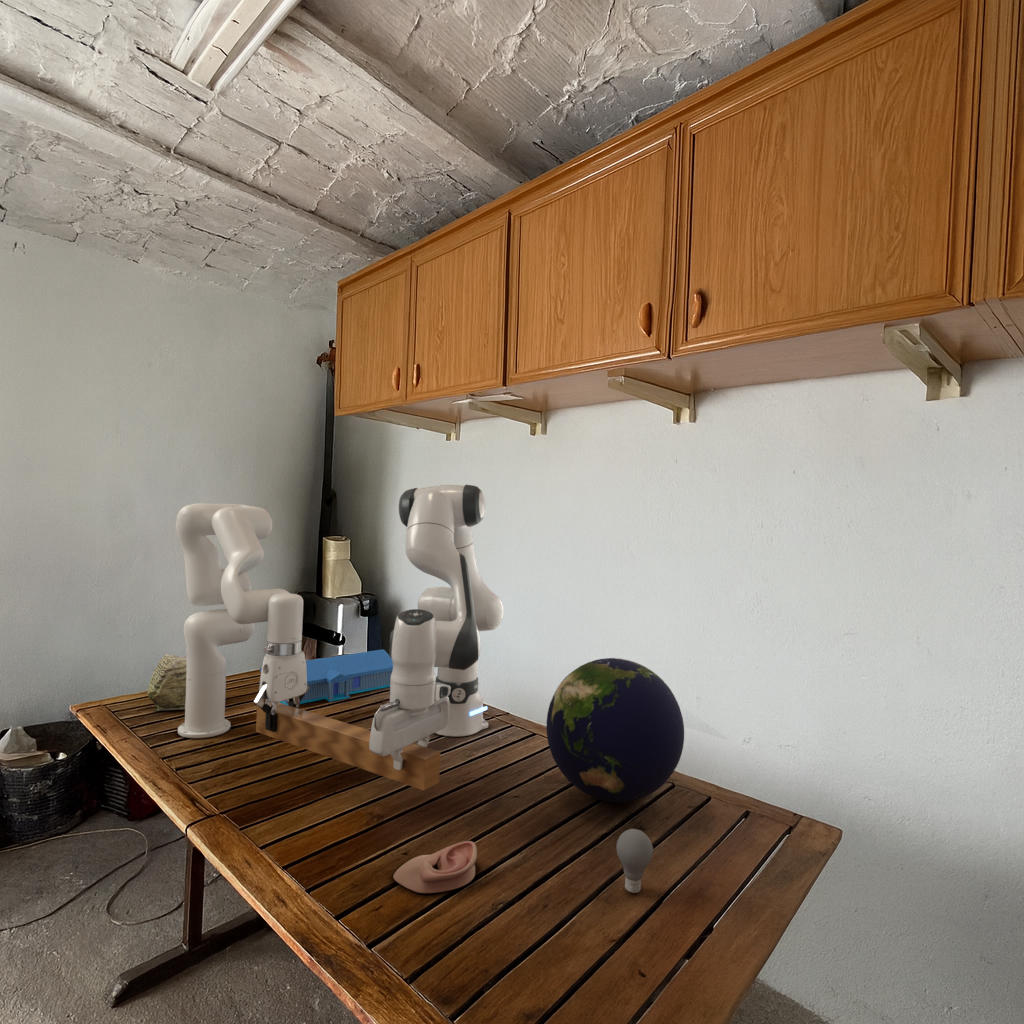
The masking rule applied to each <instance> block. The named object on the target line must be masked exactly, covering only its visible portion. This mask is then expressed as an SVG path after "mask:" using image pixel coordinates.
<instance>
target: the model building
mask: <svg viewBox="0 0 1024 1024" xmlns="http://www.w3.org/2000/svg"><path fill="white" fill-rule="evenodd" d="M305 660H306V659H305ZM306 668H307V685H308V687H309V690H308V691H307V693H306V694H305V695H304V697H303V699H302V700H301V701H300V705H302V704H307V703H312V702H317V701H323V700H325V701H327V702H329V703H330V702H335V701H341V700H346V699H347V700H348V699H350V698H351V695H353V694H359V693H364V692H365V693H366V692H369V691H373V690H381V689H385V688H390V680H391V674H392V671H393V662H392V659H391V658H390V656H389V652H387V651H386V650H385V649H376V650H368V651H363V652H356V653H349V654H342V655H341V654H340V655H335V656H329V657H328V656H327V657H321V658H315V659H314V658H313V659H307V660H306ZM261 670H262V667H260V668H259V672H260V673H261ZM258 690H260V687H258ZM279 703H282V704H285V705H289V704H288V700H284V701H281V702H279Z"/></svg>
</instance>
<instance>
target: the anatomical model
mask: <svg viewBox="0 0 1024 1024" xmlns="http://www.w3.org/2000/svg"><path fill="white" fill-rule="evenodd" d="M477 858H478V849H477V845H476V843H475V842H474V841H472V840H465V841H460V842H457V843H455V844H451V845H449V846H446V847H444V848H442V849H439V850H438V851H435V852H433V853H432V854H422V855H417V856H415V857H413V858H411V859H409V860H407V861H406V862H405V863H403V864H402V865H401V866H400V867H399V868H397V870H396V871H395V872H394V874H393V876H392V878H393V879H394V881H395V882H396V883H398V884H399V885H400V886H402V887H404V888H406V889H408V890H410V891H412V892H414V893H418V894H435V893H443V892H448V891H452V890H456V889H459V888H462V887H464V886H466V885H468V884H469V883H471V882H472V881H473V880H474V878H475V876H476V865H475V863H476V861H477Z"/></svg>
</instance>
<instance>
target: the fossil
mask: <svg viewBox="0 0 1024 1024" xmlns="http://www.w3.org/2000/svg"><path fill="white" fill-rule="evenodd" d="M186 668H187V656H183V657H182V656H178V655H175V654H174V655H173V654H165V655H164V656H163V657H162V658H161V659H160V660H159V662H158V663H157V666H156V667H155V669H154V670H153V672H152V675H151V677H150V680H149V684H148V688H147V697H148V699H149V700H150V701H152V703H153V704H154V706H155V711H158V712H159V711H162V712H163V711H177V710H185V701H186Z"/></svg>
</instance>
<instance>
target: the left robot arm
mask: <svg viewBox="0 0 1024 1024" xmlns="http://www.w3.org/2000/svg"><path fill="white" fill-rule="evenodd" d="M272 530H273V519H272V517H271V515H270V514H269V512H268V511H267V510H266V509H265V508H263V507H259V506H252V505H247V504H242V503H241V504H240V503H216V502H215V503H214V502H213V503H212V502H211V503H210V502H201V503H199V502H198V503H191V504H186V505H185V506H183V507H182V508H180V510H179V511H178V513H177V515H176V520H175V531H176V536H177V539H178V542H179V544H180V547H181V550H182V555H183V560H184V572H185V585H186V595H187V598H188V601H189V603H190V604H191V605H194V606H196V607H197V606H198V607H207V606H208V607H209V606H217V605H224V606H225V608H222V609H220V608H219V609H210V610H203V611H198V612H194V613H193V614H191V615H190V616H188V617H187V618H186V619H185V621H184V623H183V638H184V643H185V651H186V652H185V653H186V655H185V656H186V657H187V668H186V701H185V709H184V722H182V724H180V725H179V726H178V727H177V734H178V735H179V736H180V737H182V738H188V739H207V738H212V737H216V736H220V735H222V734H224V733H227V732H228V731H230V729H231V727H232V725H231V723H232V722H231V721H230V720H228V719H226V718H225V715H226V692H227V691H226V689H227V661H226V658H225V656H224V655H223V653H221V651H220V650H219V648H218V647H222V646H227V645H232V644H233V645H234V644H238V643H244V642H247V641H248V640H250V639H251V638H252V636H253V634H254V631H255V624H258V623H267V632H266V633H267V636H266V646H264V647H263V650H262V651H263V653H264V654H266V655H264V657H263V661H262V665H261V668H262V670H261V672H260V679H259V688H260V689H259V692H258V693H257V695H256V696H255V699H254V700H253V705H254V706H256V707H257V706H258V707H260V708H261V709H262V710H263V712H265V713H266V721H265V726H266V730H269V731H272V732H276V731H277V717H278V715H277V714H275V712H276V708H277V704H278V702H281V701H284V700H288V704H289V706H292V707H295V708H299V707H300V706H301V704H300V701H301V700H302V699H303V697H304V695H305V694H306V693H307V691H308V690H309V687H308V685H307V668H306V655H305V652H304V651H303V650H302V646H303V643H302V642H303V624H304V623H303V620H304V619H303V618H304V599H303V597H302V595H300V594H296V593H290V592H289V591H287V590H286V589H283V588H268V589H256V590H254V589H253V590H252V584H251V580H250V577H249V576H248V574H247V572H248V571H251V570H252V569H254V568H256V567H257V566H259V564H260V563H261V562H262V560H263V559H264V557H265V551H264V549H263V547H262V545H261V543H260V541H259V540H263V539H266V538H268V537H269V536H270V535H271V533H272ZM207 536H216V538H217V541H218V543H219V546H220V547H221V550H222V553H223V554H224V557H225V559H226V561H227V565H226V567H225V568H222V567H221V566H222V565H221V559H220V558H221V557H220V552H219V549H218V548H217V547H216V545H215V544H214V543H213V542H212V540H211V539H210V538H208V537H207ZM264 701H265V702H264ZM271 702H272V705H271ZM270 705H271V707H270Z"/></svg>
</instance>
